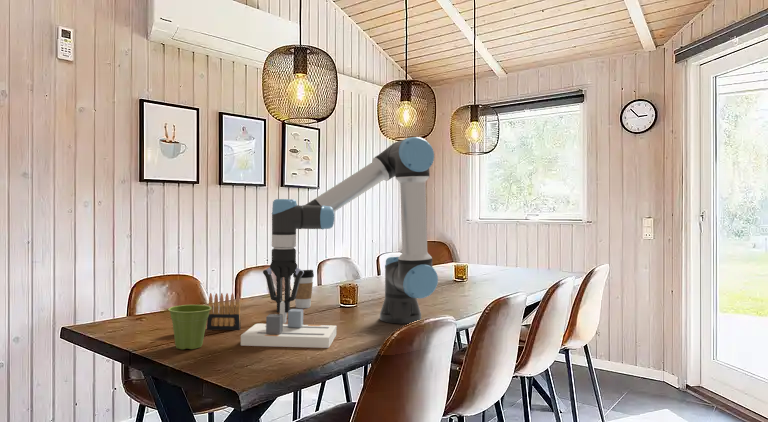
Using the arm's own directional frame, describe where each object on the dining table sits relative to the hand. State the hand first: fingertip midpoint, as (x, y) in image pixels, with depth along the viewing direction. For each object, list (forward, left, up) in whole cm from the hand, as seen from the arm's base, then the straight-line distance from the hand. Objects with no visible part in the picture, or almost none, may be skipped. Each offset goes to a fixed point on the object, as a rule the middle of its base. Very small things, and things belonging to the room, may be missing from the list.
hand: (283, 322), depth 172 cm
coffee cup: (+4, -49, -4) cm, 50 cm away
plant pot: (+24, +16, -5) cm, 29 cm away
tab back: (-4, 0, -1) cm, 4 cm away
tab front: (0, +9, -1) cm, 9 cm away
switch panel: (-3, +5, -4) cm, 7 cm away
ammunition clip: (+22, -7, -5) cm, 23 cm away
